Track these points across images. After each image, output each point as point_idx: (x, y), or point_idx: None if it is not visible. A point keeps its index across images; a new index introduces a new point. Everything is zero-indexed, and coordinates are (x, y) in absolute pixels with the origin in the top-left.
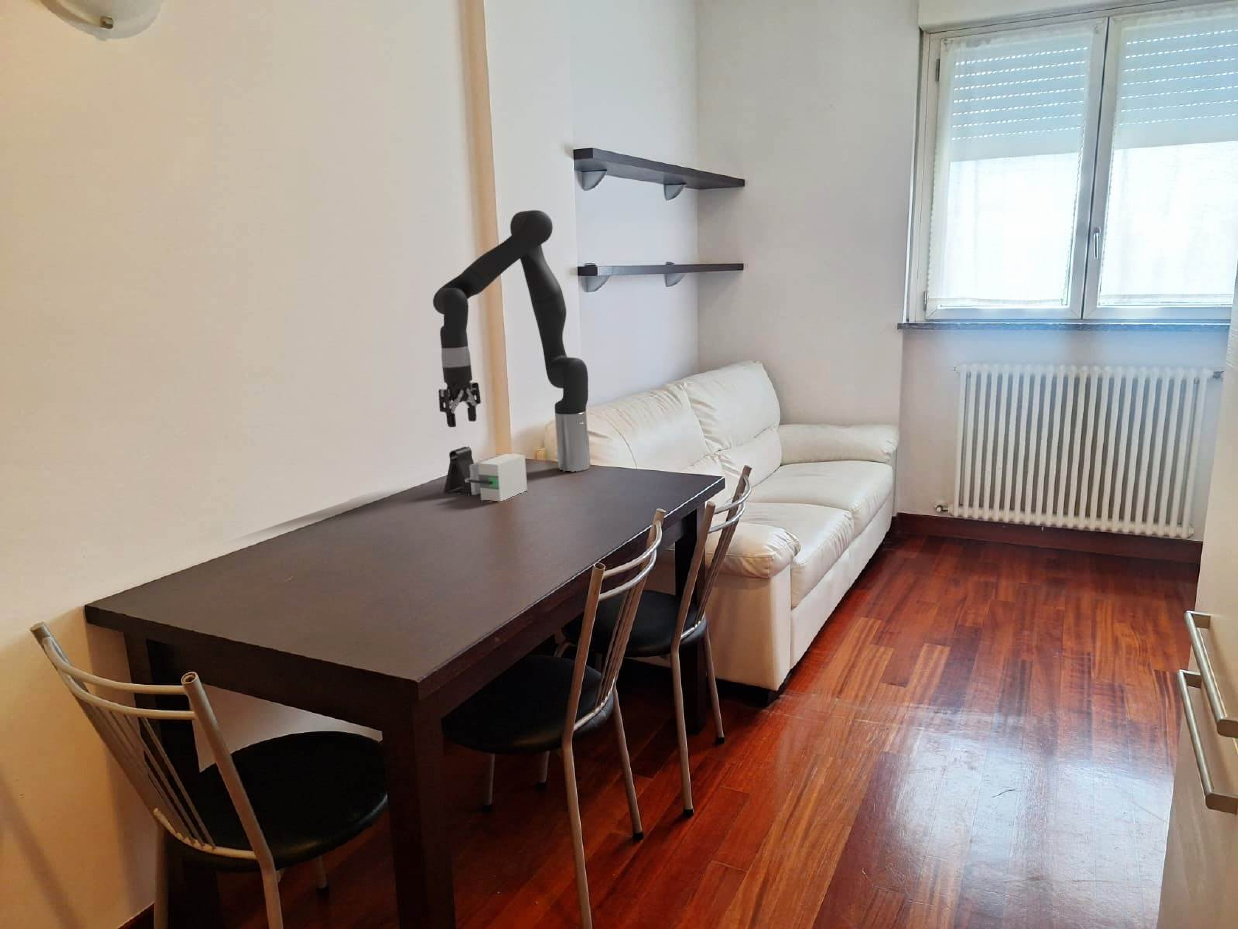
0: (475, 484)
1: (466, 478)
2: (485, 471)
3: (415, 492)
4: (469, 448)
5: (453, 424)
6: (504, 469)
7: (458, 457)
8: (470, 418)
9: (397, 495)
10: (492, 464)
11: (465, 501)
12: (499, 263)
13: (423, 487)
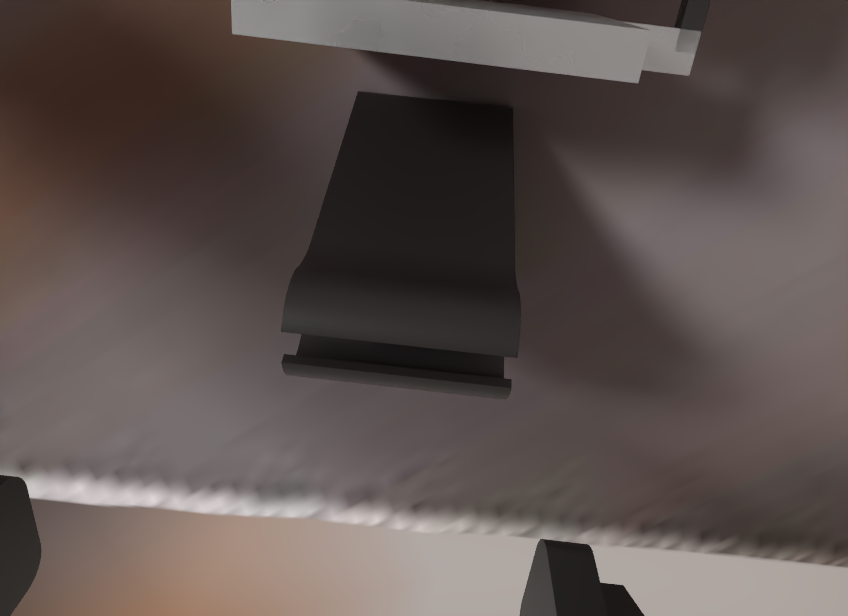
0: (594, 16)
1: (489, 170)
2: None
3: (507, 455)
4: (299, 303)
5: (589, 585)
6: None
7: (511, 290)
8: (7, 571)
9: (579, 504)
10: None
11: None
12: None
13: (402, 469)
